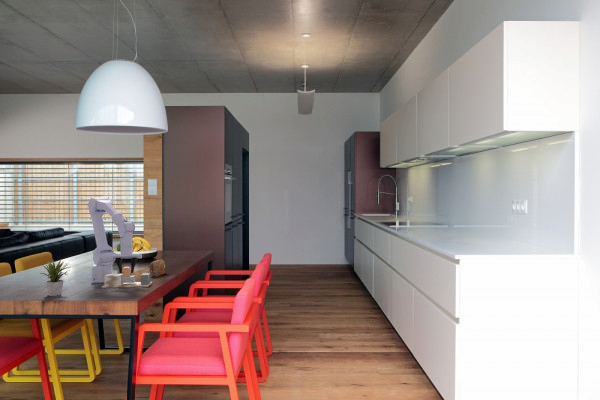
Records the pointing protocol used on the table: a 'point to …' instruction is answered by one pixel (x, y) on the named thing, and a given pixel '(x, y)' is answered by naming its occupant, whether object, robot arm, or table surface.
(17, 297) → the table surface
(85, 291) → the table surface
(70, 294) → the table surface
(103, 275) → the robot arm
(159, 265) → the tin
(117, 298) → the table surface
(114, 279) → the tube stand
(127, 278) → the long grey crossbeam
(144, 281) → the socket
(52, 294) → the house plant
